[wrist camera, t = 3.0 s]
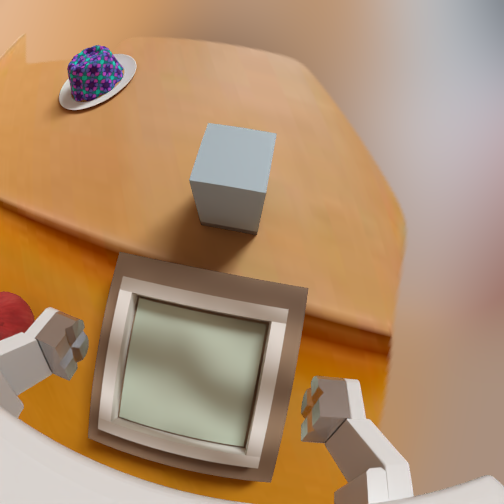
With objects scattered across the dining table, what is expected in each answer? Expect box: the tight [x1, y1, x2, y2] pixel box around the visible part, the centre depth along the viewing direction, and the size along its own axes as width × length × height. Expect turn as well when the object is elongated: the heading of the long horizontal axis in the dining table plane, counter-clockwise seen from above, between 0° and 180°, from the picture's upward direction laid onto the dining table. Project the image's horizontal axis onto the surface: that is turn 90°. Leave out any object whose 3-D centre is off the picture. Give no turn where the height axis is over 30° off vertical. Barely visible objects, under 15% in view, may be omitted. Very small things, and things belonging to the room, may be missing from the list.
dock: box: [88, 252, 308, 482], centre depth 20 cm, size 16×15×4 cm
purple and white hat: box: [59, 45, 136, 110], centre depth 29 cm, size 12×12×5 cm
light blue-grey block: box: [189, 123, 276, 235], centre depth 23 cm, size 5×5×8 cm
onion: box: [0, 292, 35, 341], centre depth 18 cm, size 6×6×8 cm
